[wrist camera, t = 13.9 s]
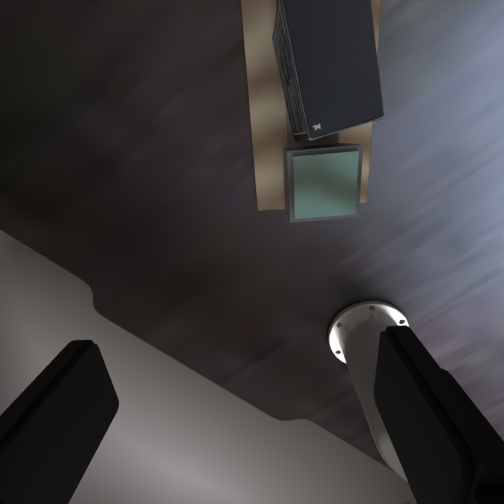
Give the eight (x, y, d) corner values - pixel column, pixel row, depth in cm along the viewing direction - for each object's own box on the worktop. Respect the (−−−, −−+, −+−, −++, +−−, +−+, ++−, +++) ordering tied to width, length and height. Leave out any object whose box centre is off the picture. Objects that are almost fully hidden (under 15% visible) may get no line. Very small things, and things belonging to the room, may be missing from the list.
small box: (350, 124, 31) (389, 119, 22) (293, 142, 32) (307, 145, 23) (333, 12, 27) (372, -55, 18) (270, 36, 28) (273, -16, 19)
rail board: (362, 199, 37) (395, 220, 28) (258, 208, 38) (256, 231, 29) (381, -93, 26) (445, -215, 17) (235, -72, 27) (221, -176, 18)
